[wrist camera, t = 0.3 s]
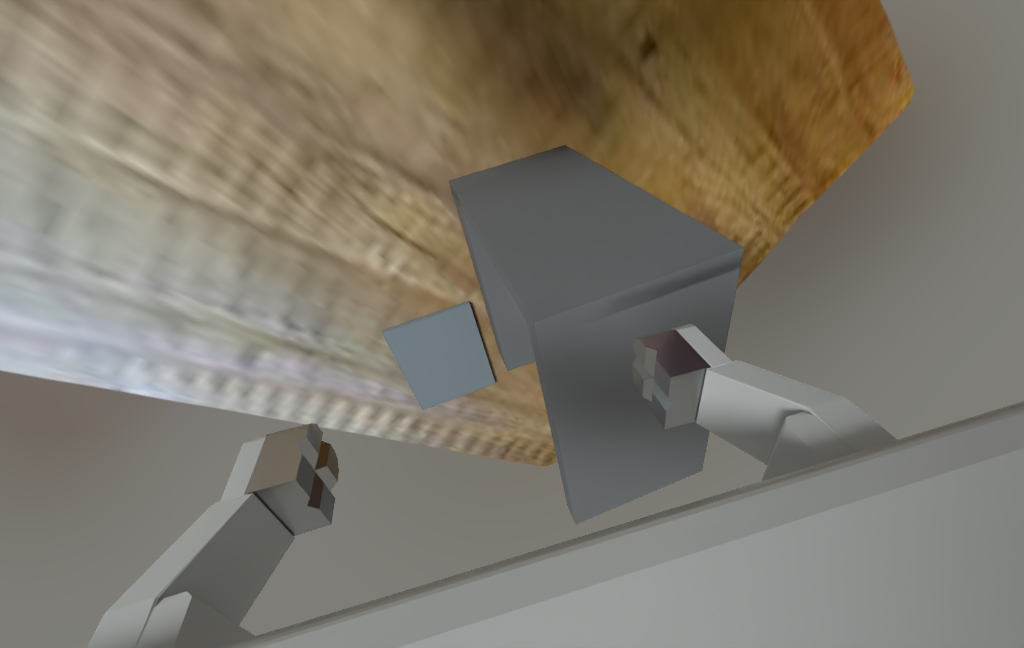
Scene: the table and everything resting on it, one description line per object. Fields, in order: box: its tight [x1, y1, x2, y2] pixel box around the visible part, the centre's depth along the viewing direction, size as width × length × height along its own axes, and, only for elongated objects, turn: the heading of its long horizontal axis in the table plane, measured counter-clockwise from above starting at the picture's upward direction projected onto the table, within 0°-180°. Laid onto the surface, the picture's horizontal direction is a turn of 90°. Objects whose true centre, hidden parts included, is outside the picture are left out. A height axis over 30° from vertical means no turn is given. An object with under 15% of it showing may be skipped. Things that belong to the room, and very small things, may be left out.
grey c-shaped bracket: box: [449, 146, 744, 524], centre depth 43 cm, size 26×14×28 cm, turn 12°
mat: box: [382, 301, 495, 410], centre depth 59 cm, size 16×12×1 cm
